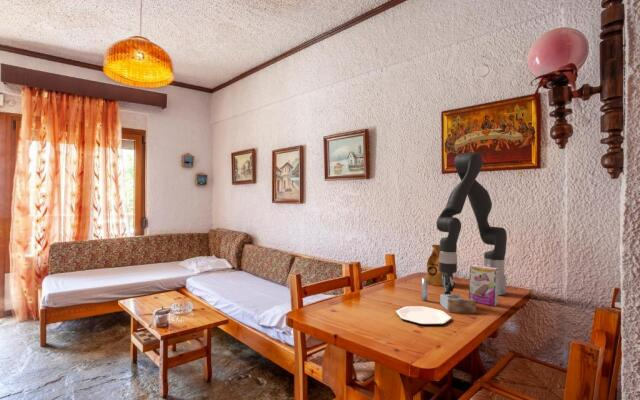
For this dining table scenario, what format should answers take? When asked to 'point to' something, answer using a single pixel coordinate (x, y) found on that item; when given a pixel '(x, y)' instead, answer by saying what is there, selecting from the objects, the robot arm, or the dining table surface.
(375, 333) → the dining table surface
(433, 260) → the coffee package
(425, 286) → the dowel
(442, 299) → the block
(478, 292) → the candy bar box
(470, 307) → the wall
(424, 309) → the plate
